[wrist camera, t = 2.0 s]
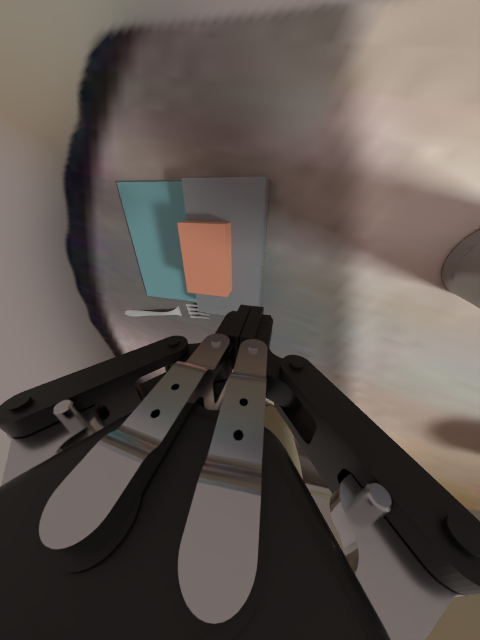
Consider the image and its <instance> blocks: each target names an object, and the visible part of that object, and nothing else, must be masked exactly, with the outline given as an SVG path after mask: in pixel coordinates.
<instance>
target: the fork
mask: <svg viewBox="0 0 480 640" xmlns="http://www.w3.org/2000/svg"><path fill="white" fill-rule="evenodd" d="M186 306H195V307H197V305H194V304H186ZM187 309H188V311H189V314H190V315H191V314H200V315H208V316H210V315H209V314H205V313H199V312H190V310H197V311H198V309H196V308H189V307H187ZM125 314H126V315H128V316H147V315H180V316H181V312H180V309H179V307H177V308H175V309H174V310H172V311H169V312H152V311H143V310H128V311H126V312H125ZM190 317H191V318H206V319H211V318H208V317H203V316H190Z"/></svg>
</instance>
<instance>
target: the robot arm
mask: <svg viewBox="0 0 480 640" xmlns="http://www.w3.org/2000/svg"><path fill="white" fill-rule="evenodd" d="M442 281H443V283H444V285H445V287H446V288H447V289H448V290H449V291H450V292H452V293H454V294H456V295H457V296H459V297H461V298H463V299H465V300H466V301H468V302H470V303H472V304H473V305H475V306H477V307H478V308H480V229H479V230H478V231H476V232H474V233H473V234H471V235H470V236H468V237H467V238H466V239H464V240H463V241H462V242H461V243H460V244H459V245H458V246H457V247H456V248H455V249H454V250H453V251H452V252H451V253H450V255H449V256H448V258H447V259H446V261H445V264H444V266H443V270H442ZM263 311H264V307H259V306H250V305H242V304H241V305H240V307H239V308H238V310H237V311H231V312H229V313H228V314H226V316H225V318H224V319H223V321H222V323H221V324H220V326H219V328H218V329H217V331H216V333H215V334H211V335H209V336H207V337H206V338H205V339H204V340H203V341H202V342H201V343H196V344H188V341H187V339H186V338H185V337H183V336H171V337H168V338H165V339H163V340H160V341H157V342H155V343H152V344H149V345H147V346H144V347H141V348H139V349H136V350H133V351H130V352H128V353H125V354H122V355H120V356H117V357H114V358H112V359H109V360H106V361H104V362H101V363H99V364H96V365H93V366H91V367H88V368H86V369H82V370H80V371H77V372H74V373H72V374H69V375H66V376H64V377H61V378H58V379H56V380H53V381H51V382H48V383H45V384H42V385H40V386H37V387H35V388H32V389H29V390H27V391H24V392H21V393H19V394H17V395H15V396H13V397H12V398H10V399H8V400H7V401H5V402H4V403H3V404H2V405H0V428H1V429H2V430H3V431H4V432H6V433H7V435H8V437H9V438H10V439H11V445H10V449H9V453H8V458H7V463H6V467H5V472H4V476H3V480H2V485H1V487H0V640H425V639H426V637H427V636H428V634H429V633H430V631H431V630H432V628H433V627H434V626H435V624H436V622H437V621H438V619H439V618H440V616H441V615H442V614H443V612H444V611H445V609H446V608H447V606H448V604H449V603H450V602H451V600H452V599H453V598H454V597H460V596H467V595H477V594H480V521H479V520H478V519H477V518H476V517H475V516H474V515H472V514H471V513H470V512H469V511H468V510H467V509H466V508H465V507H464V506H463V505H462V504H461V503H460V502H459V501H458V500H456V499H455V498H454V497H453V496H452V495H451V494H450V493H449V492H448V491H447V490H446V489H445V488H444V487H443V486H442V485H440V484H439V483H438V482H437V481H436V480H435V479H434V478H433V477H432V476H431V475H430V474H429V473H428V472H427V471H426V470H424V469H423V468H422V467H421V466H420V465H419V464H418V463H417V462H416V461H415V460H414V459H413V458H412V457H411V456H409V455H408V454H407V453H406V452H405V451H404V450H403V449H402V448H401V447H400V446H399V445H398V444H397V443H396V442H395V441H393V440H392V439H391V438H390V437H389V436H388V435H387V434H386V433H385V432H384V431H383V430H382V429H381V428H380V427H379V426H377V425H376V424H375V423H374V422H373V421H372V420H371V419H370V418H369V417H368V416H367V415H366V414H365V413H364V412H362V411H361V410H360V409H359V408H358V407H357V406H356V405H355V404H354V403H353V402H352V401H351V400H350V399H349V398H348V397H346V396H345V395H344V394H343V393H342V392H341V391H340V390H339V389H338V388H337V387H336V386H335V385H334V384H333V383H332V382H330V381H329V380H328V379H327V378H326V377H325V376H324V375H323V374H322V373H321V372H320V371H319V370H318V369H317V368H315V367H314V366H313V365H312V364H311V363H310V362H309V361H308V360H307V359H305V358H303V357H301V356H297V355H288V356H286V357H284V358H283V359H282V358H280V357H278V356H276V355H274V354H273V353H272V352H271V351H270V349H269V347H270V341H271V333H272V325H273V319H272V317H271V315H263ZM164 366H165V370H166V372H165V373H163V374H161V375H159V376H157V377H155V378H153V379H150V380H148V381H146V382H144V383H142V384H136V383H135V382H136V381H137V380H138V379H139V378H140V377H142V376H144V375H147V374H149V373H151V372H153V371H155V370H158V369H160V368H162V367H164ZM233 369H234V371H233V373H232V370H233ZM224 393H225V394H224ZM223 395H224V397H223ZM222 397H223V401H222V405H221V408H220V410H217V409H218V406H219V404H220V402H221V400H222ZM265 398H267V399H269V400H271V401H273V402H274V405H275V408H276V409H277V411H278V412H279V414H280V415H281V417H282V418H283V420H284V421H285V423H286V424H287V426H288V427H289V429H290V430H291V432H292V433H293V435H294V436H295V438H296V439H297V441H298V442H299V444H300V445H301V447H302V448H303V450H304V452H305V453H306V455H307V456H308V458H309V459H310V461H311V462H312V464H313V465H314V467H315V468H316V470H317V471H318V473H319V474H320V476H321V477H322V479H323V480H324V482H325V483H326V485H327V486H328V488H329V489H330V491H331V492H332V496H331V499H330V513H331V517H332V520H333V523H334V525H335V527H336V529H337V531H338V533H339V535H340V538H341V541H342V544H343V548H344V553H343V551H342V550H341V548H340V546H339V544H338V542H337V541H336V539H335V537H334V535H333V533H332V532H331V530H330V528H329V526H328V525H327V523H326V521H325V519H324V517H323V515H322V514H321V512H320V510H319V508H318V506H317V505H316V503H315V501H314V499H313V497H312V496H311V494H310V492H309V490H308V488H307V487H306V485H305V483H304V481H303V479H302V478H301V476H300V474H299V472H298V470H297V469H296V467H295V465H294V463H293V461H292V460H291V458H290V456H289V454H288V452H287V450H286V449H285V447H284V446H283V444H282V443H281V441H280V440H279V439H278V438H277V437H276V436H275V435H274V434H273V433H272V432H271V431H270V430H269V429H267V428H266V427H264V417H265ZM344 554H345V555H344Z"/></svg>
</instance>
